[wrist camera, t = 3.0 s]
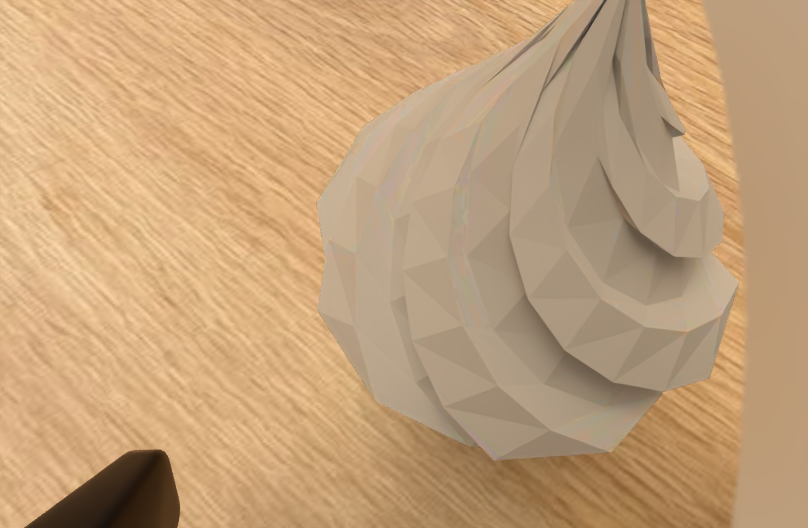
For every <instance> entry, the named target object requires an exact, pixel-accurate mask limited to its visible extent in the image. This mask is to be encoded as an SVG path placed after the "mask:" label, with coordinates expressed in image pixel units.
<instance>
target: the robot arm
mask: <svg viewBox="0 0 808 528" xmlns="http://www.w3.org/2000/svg"><path fill="white" fill-rule="evenodd" d="M179 516H180V502H179V497H178V493H177V489H176V485H175V481H174V477H173V473H172V469H171V465H170V461H169V458H168V456H167V454H166V453H165V452H164V451H162V450H134V451H130V452H127V453H126V454H124V455H122V456H121V457H120V458H118V459H117V460H116V461H114V462H113V463H112V464H110V465H109V466H107V467H106V468H105V469H103V470H102V471H101V472H99V473H98V474H97V475H95V476H94V477H93V478H91V479H90V480H88V481H87V482H86V483H84V484H83V485H82V486H80V487H79V488H78V489H76V490H75V491H73V492H72V493H71V494H69V495H68V496H67V497H65V498H64V499H63V500H61V501H60V502H59V503H57V504H56V505H54V506H53V507H52V508H50V509H49V510H48V511H46V512H45V513H44V514H42V515H41V516H39V517H38V518H37V519H35V520H34V521H33V522H31V523H30V524H29V525H27V526H26V527H25V528H177V527H178V522H179Z"/></svg>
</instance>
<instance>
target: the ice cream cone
mask: <svg viewBox="0 0 808 528" xmlns="http://www.w3.org/2000/svg"><path fill="white" fill-rule="evenodd" d="M681 135H685V128H684V126H683V124H682V122H681V121H680V119H679V117H678V116H677V114H676V112H675V110H674V109H673V106H672V104H671V102H670V99H669V97H668V95H667V93H666V90H665V88H664V86H663V83H662V81H661V76H660V72H659V67H658V62H657V57H656V52H655V47H654V43H653V38H652V33H651V28H650V23H649V18H648V13H647V7H646V1H645V0H575V1H573V2H572V3H571V4H570V5H568V6H567V7H566V8H565V9H564V10H562V11H561V12H560V13H559V14H558V15H556V16H555V17H554V18H553V19H552V20H550V21H549V22H548V23H547V24H545V25H544V26H543V27H542V28H541V29H539V30H538V31H537V32H536V33H535V34H533V35H532V36H530V37H528V38H527V39H525V40H523V41H522V42H520V43H518V44H516V45H515V46H512V47H510V48H508V49H505V50H503V51H500V52H498V53H496V54H493V55H492V56H490V57H488V58H486V59H485V60H483V61H481V62H480V63H478V64H475V65H472V66H470V67H467V68H464V69H462V70H459V71H456V72H455V73H453V74H451V75H450V76H448V77H446V78H444V79H443V80H440V81H438V82H435V83H433V84H431V85H428V86H426V87H424V88H421V89H419V90H417V91H415V92H413V93H412V94H410V95H409V96H407V97H406V98H404V99H403V100H401V101H400V102H399V103H397V104H396V105H394V106H393V107H391V108H390V109H388V110H387V111H385V112H384V113H382V114H381V115H379V116H378V117H376V118H375V119H373V120H372V121H371V122H369V123H368V124H366V125H365V126H363V127H362V129H361V130H360V132H359V134H358V135H357V137H356V139H355V140H354V142H353V144H352V145H351V147H350V148H349V150H348V152H347V153H346V155H345V157H344V158H343V160H342V162H341V163H340V165H339V166H338V168H337V170H336V171H335V173H334V175H333V176H332V178H331V180H330V181H329V183H328V184H327V186H326V188H325V189H324V191H323V193H322V194H321V196H320V197H319V199H318V201H317V202H316V205H317V212H318V218H319V224H320V230H321V237H322V243H323V249H324V256H325V265H324V271H323V277H322V284H321V290H320V296H319V303H318V309H317V311H318V312H319V314H320V316H321V317H322V319H323V320H324V322H325V323H326V325H327V327H328V328H329V330H330V331H331V333H332V334H333V336H334V337H335V339H336V341H337V342H338V344H339V345H340V347H341V348H342V350H343V352H344V353H345V355H346V356H347V358H348V359H349V361H350V362H351V364H352V366H353V367H354V369H355V370H356V372H357V373H358V375H359V377H360V378H361V380H362V381H363V383H364V384H365V386H366V387H367V389H368V391H369V392H370V394H371V395H372V397H373V398H374V400H375V401H376V402H378V403H380V404H382V405H384V406H386V407H388V408H390V409H392V410H395V411H397V412H399V413H401V414H403V415H405V416H407V417H409V418H411V419H413V420H415V421H417V422H419V423H421V424H423V425H425V426H427V427H429V428H431V429H433V430H435V431H437V432H440V433H442V434H444V435H446V436H448V437H450V438H452V439H454V440H456V441H458V442H460V443H462V444H464V445H466V446H468V447H481V448H482V449H483V450H484V451H485V452H486V453H487V454H488V455H489V456H490V458H491V459H492V460H493V461H495V460H510V459H525V458H539V457H554V456H569V455H583V454H598V453H611V452H612V451H613V450H614V449H615V448H616V447H617V446H618V444H619V443H620V442H621V441H622V440H623V439H624V438H625V436H626V435H627V434H628V433H629V432H630V431H631V430H632V428H633V427H634V426H635V425H636V424H637V423H638V421H639V420H640V419H641V418H642V417H643V416H644V415H645V413H646V412H647V411H648V410H649V409H650V408H651V407H652V405H653V404H654V403H655V402H656V401H657V400H658V399H659V397H660V396H661V395H662V392H665V391H669V390H672V389H675V388H679V387H682V386H686V385H689V384H692V383H696V382H699V381H703V380H706V379H709V378H710V375H711V371H712V368H713V365H714V362H715V359H716V355H717V352H718V349H719V346H720V342H721V339H722V336H723V333H724V330H725V326H726V323H727V320H728V317H729V314H730V310H731V307H732V304H733V301H734V298H735V294H736V291H737V288H738V285H739V282H738V281H737V280H736V278H735V277H734V276H733V275H732V274H731V273H730V272H729V271H728V270H727V269H726V268H725V266H724V265H723V264H722V263H721V262H720V261H719V260H718V259H717V258H716V257H715V255H714V254H713V253H712V252H711V251H713V250H714V249H715V248H716V247H717V246H718V245H719V244H720V243H721V242H722V237H723V224H724V211H723V208H722V206H721V204H720V201H719V199H718V197H717V195H716V192H715V190H714V188H713V185H712V183H711V181H710V178H709V176H708V174H707V172H706V170H705V167H704V165H703V163H702V162H701V161H700V160H699V158H698V157H697V156H696V155H695V153H694V152H693V151H692V150H691V149H690V147H689V146H688V145H687V144H686V142H685V141H684V140H683V139H682V138H681Z"/></svg>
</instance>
